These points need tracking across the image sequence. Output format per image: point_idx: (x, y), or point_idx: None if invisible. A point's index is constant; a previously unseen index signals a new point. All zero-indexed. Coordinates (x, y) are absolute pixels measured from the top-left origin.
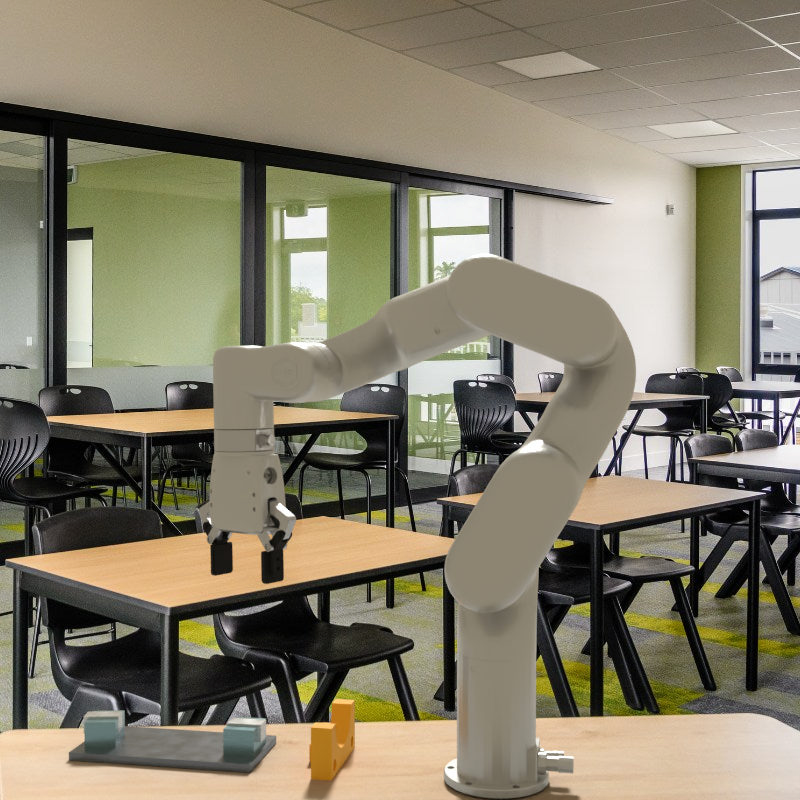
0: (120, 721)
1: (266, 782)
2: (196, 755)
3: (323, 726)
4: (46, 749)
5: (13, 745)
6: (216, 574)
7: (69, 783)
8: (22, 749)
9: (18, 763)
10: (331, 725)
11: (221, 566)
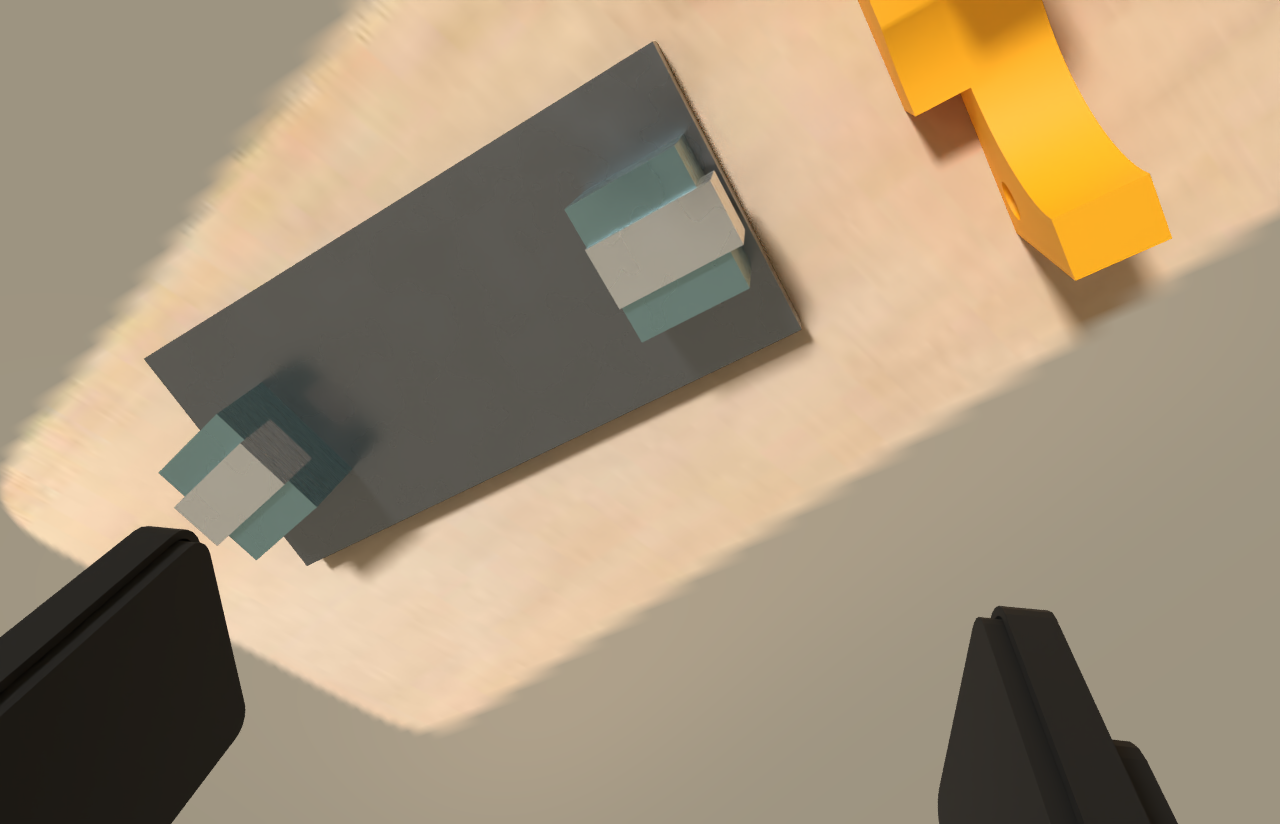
0: (274, 450)
1: (903, 344)
2: (595, 374)
3: (1118, 236)
4: None
5: None
6: (241, 709)
7: (472, 642)
8: None
9: (255, 629)
10: (1146, 205)
11: (187, 711)
